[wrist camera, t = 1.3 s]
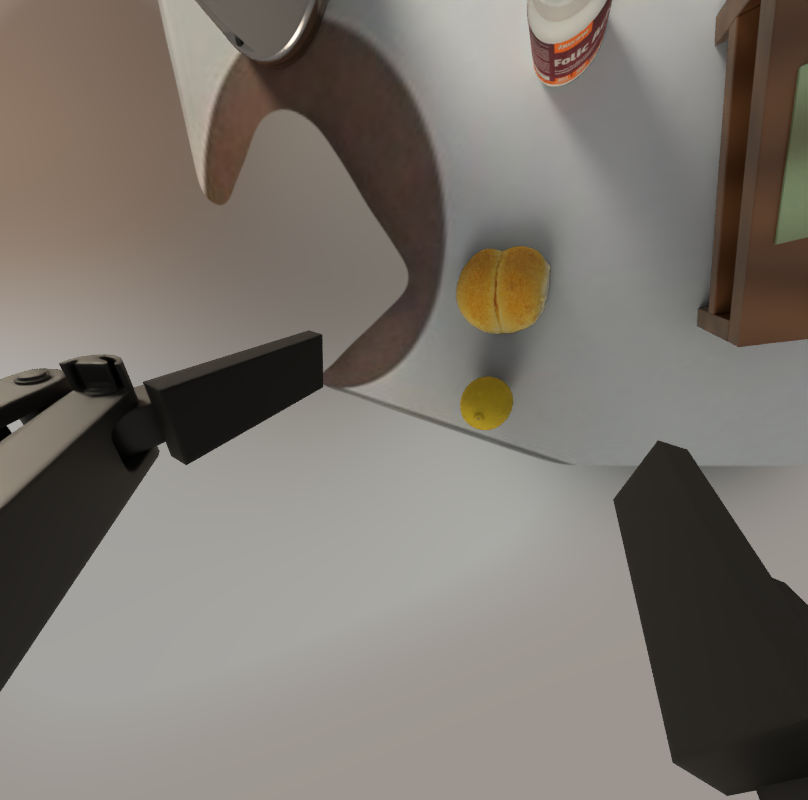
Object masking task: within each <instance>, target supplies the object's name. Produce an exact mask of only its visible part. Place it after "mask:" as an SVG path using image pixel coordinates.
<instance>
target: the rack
mask: <svg viewBox="0 0 808 800" xmlns="http://www.w3.org/2000/svg"><path fill="white" fill-rule="evenodd" d="M726 40H728V51H727V65H726V79H725V92H724V106H723V120H722V133H721V147H720V161H719V174H718V188H717V201H716V215H715V229H714V242H713V256H712V270H711V283H710V297H709V307H706V308H700V309H698V320H697V326H698V327H700V328H702V329H704V330H706V331H708V332H710V333H712V334H714V335H716V336H718V337H719V338H721V339H723V340H725V341H727V342H730V343H732V344H734V345H735V346H737V347H743V346H751V345H760V344H768V343H777V342H785V341H794V340H802V339H808V0H727V1H726V3H725V4H724V6H723V7H722V9H721V10H720V12H719V13H718V15H717V17H716V31H715V45H718V44H720V43H722V42H724V41H726Z"/></svg>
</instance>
